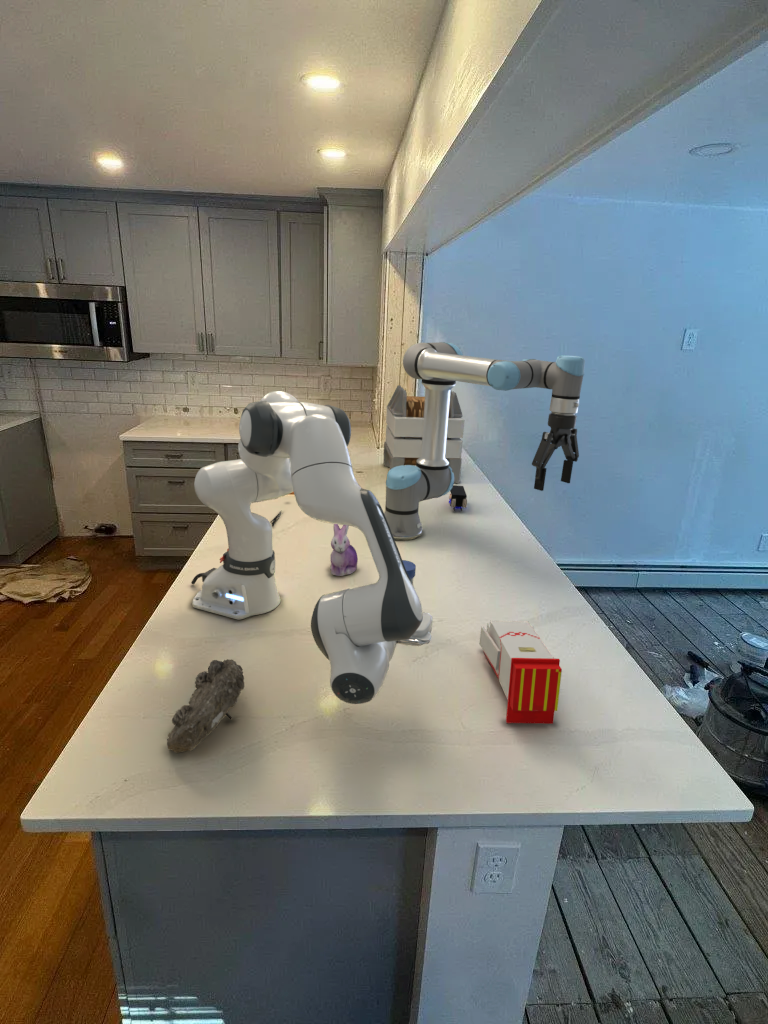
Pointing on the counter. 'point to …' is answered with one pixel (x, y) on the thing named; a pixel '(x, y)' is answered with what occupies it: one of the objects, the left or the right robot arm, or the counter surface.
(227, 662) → the fossil
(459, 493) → the figurine character
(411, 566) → the lid
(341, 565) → the figurine
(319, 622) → the left robot arm
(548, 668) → the toy
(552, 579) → the counter surface
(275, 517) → the feather
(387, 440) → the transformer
